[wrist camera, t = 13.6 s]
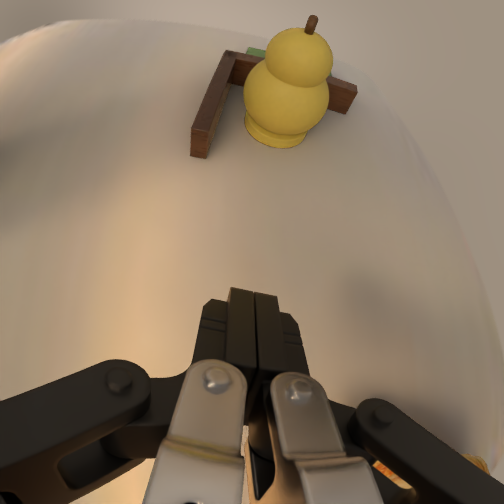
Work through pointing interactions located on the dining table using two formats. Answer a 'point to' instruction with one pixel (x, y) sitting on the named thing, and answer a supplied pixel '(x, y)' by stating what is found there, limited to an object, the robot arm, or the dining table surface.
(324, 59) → the pear
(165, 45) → the dining table surface
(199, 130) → the corner fence
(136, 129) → the dining table surface
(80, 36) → the dining table surface
